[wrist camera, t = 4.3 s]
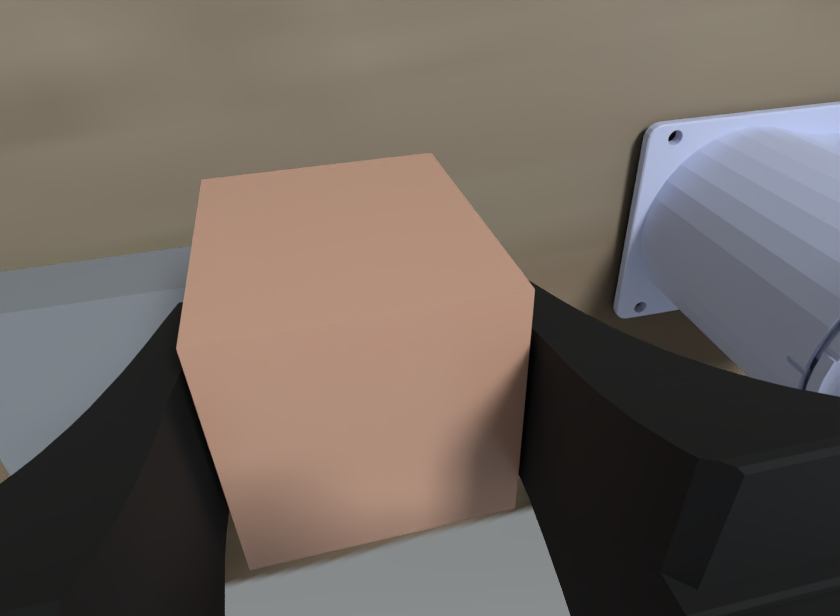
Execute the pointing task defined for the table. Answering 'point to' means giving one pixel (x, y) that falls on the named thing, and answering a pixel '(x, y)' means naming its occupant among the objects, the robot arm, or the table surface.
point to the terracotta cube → (353, 354)
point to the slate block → (75, 338)
